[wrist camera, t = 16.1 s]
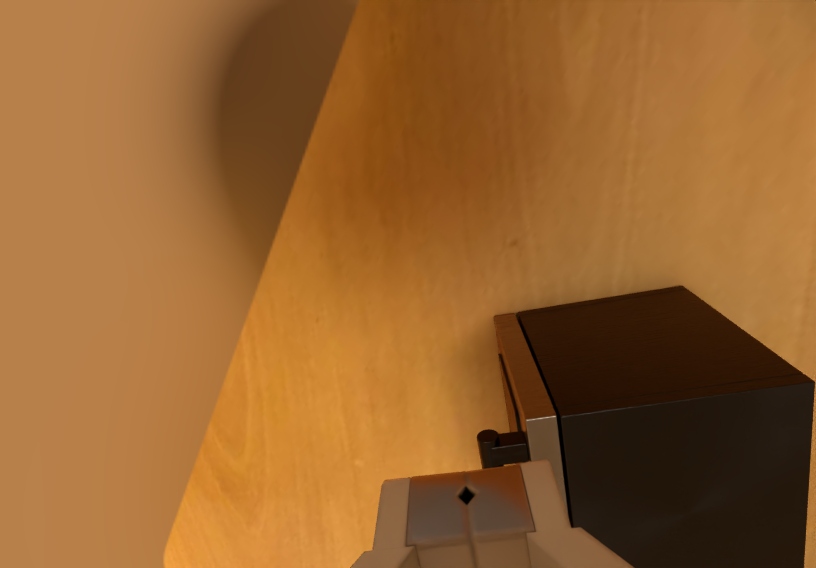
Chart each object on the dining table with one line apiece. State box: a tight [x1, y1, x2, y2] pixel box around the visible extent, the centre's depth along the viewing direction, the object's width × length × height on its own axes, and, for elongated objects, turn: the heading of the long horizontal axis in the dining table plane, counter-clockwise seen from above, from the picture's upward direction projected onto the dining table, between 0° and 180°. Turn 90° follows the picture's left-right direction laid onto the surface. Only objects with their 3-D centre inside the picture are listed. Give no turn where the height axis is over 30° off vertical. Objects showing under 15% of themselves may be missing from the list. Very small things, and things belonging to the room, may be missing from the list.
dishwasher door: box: [477, 314, 570, 522], centre depth 35 cm, size 4×14×14 cm, turn 11°
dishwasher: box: [518, 286, 815, 568], centre depth 34 cm, size 12×14×14 cm
